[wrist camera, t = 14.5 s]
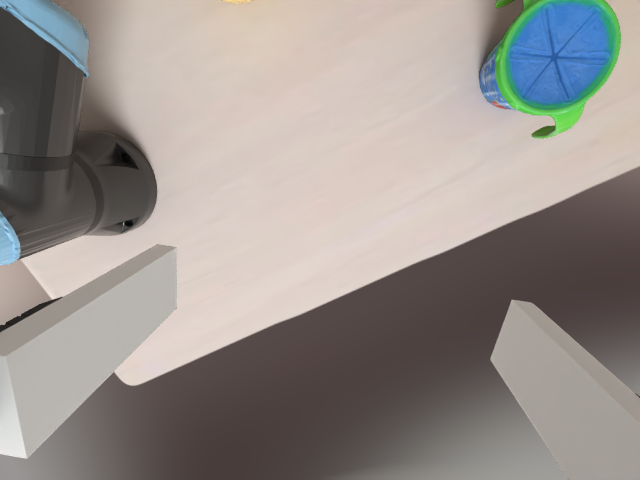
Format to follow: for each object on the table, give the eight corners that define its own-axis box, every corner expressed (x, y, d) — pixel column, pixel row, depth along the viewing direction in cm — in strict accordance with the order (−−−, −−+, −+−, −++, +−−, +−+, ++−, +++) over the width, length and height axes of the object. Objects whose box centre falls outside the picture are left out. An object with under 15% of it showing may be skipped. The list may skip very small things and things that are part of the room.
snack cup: (451, 24, 38) (486, -15, 29) (545, -13, 37) (615, -68, 27) (477, 151, 42) (515, 155, 33) (562, 124, 41) (629, 119, 31)
